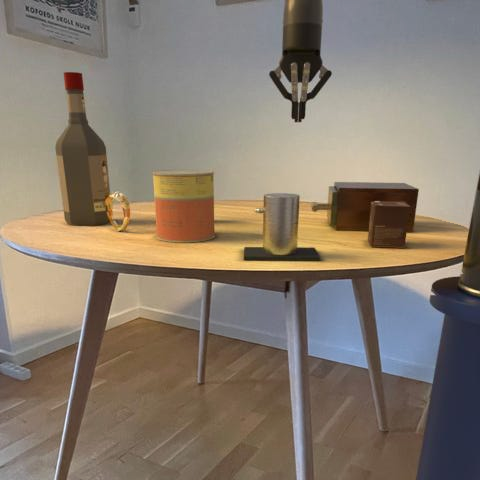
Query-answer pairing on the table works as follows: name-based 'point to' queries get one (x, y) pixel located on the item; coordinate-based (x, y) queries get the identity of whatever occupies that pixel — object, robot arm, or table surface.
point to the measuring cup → (280, 223)
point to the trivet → (301, 255)
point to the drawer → (329, 205)
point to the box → (388, 224)
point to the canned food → (184, 205)
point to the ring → (125, 206)
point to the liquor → (81, 162)
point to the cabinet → (359, 202)
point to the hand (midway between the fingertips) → (298, 122)
